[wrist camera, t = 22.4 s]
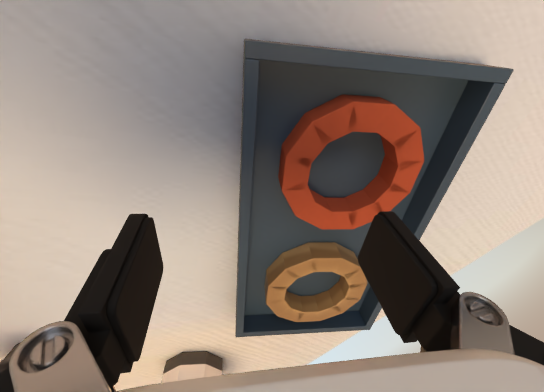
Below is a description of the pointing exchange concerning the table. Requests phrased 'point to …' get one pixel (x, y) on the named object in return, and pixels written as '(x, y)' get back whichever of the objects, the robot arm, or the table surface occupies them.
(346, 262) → the birch ring
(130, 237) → the robot arm
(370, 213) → the terracotta ring
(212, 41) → the table surface
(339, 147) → the tray
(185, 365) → the wine bottle
